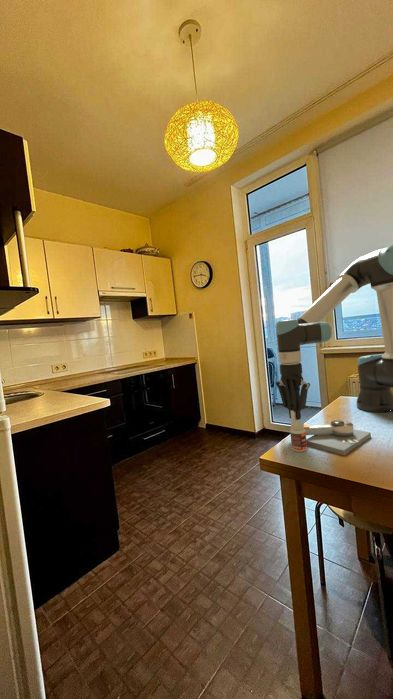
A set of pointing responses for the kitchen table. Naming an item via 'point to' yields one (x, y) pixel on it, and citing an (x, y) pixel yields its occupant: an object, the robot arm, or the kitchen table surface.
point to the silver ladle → (331, 429)
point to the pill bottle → (298, 437)
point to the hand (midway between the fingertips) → (296, 427)
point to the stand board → (338, 442)
